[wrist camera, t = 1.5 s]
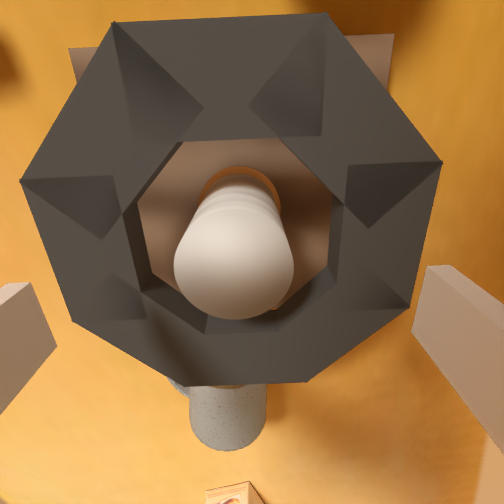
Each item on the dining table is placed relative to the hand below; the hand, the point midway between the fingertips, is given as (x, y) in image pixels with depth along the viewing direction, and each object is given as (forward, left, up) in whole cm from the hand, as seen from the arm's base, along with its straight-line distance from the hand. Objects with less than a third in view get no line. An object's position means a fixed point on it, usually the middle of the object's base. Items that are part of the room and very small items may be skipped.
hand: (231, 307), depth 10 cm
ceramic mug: (+18, -3, -16) cm, 24 cm away
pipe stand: (0, 0, -15) cm, 15 cm away
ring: (0, 0, -6) cm, 6 cm away
